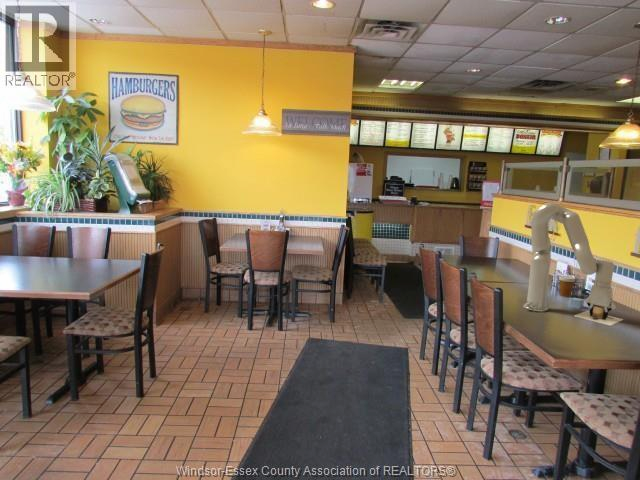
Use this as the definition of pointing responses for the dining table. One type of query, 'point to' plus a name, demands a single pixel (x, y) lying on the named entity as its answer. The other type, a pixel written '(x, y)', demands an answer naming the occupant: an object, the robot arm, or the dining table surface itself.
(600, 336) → the dining table surface
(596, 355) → the dining table surface
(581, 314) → the letter mat
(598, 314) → the wood cylinder
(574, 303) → the slate cube
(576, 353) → the dining table surface
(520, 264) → the dining table surface
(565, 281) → the disposable coffee cup
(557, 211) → the robot arm
